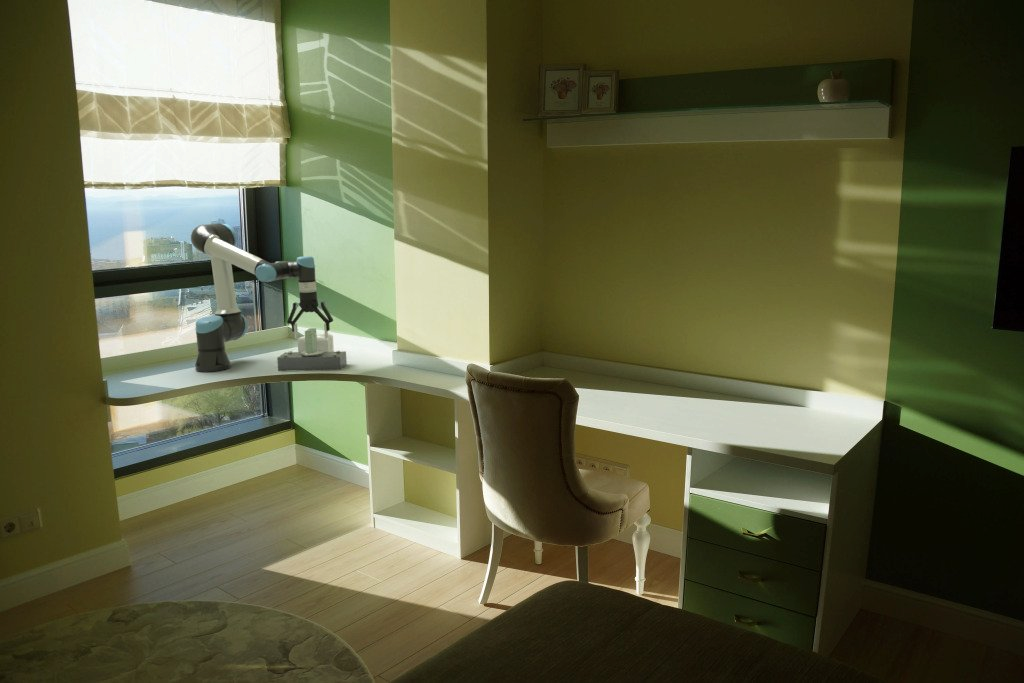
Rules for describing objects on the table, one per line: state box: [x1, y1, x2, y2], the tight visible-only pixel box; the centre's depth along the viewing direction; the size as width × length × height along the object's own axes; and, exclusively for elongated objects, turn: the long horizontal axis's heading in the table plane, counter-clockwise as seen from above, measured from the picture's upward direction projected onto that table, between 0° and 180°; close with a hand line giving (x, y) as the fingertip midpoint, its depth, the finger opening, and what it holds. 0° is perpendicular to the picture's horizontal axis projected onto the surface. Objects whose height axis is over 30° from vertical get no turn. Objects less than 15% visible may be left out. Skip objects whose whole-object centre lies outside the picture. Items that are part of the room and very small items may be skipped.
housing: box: [277, 350, 348, 372], centre depth 375 cm, size 28×12×7 cm, turn 88°
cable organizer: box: [296, 332, 335, 352], centre depth 393 cm, size 15×11×12 cm
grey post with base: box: [301, 327, 323, 356], centre depth 374 cm, size 10×10×16 cm
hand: (311, 338), depth 373 cm, fingers open, 13 cm apart
